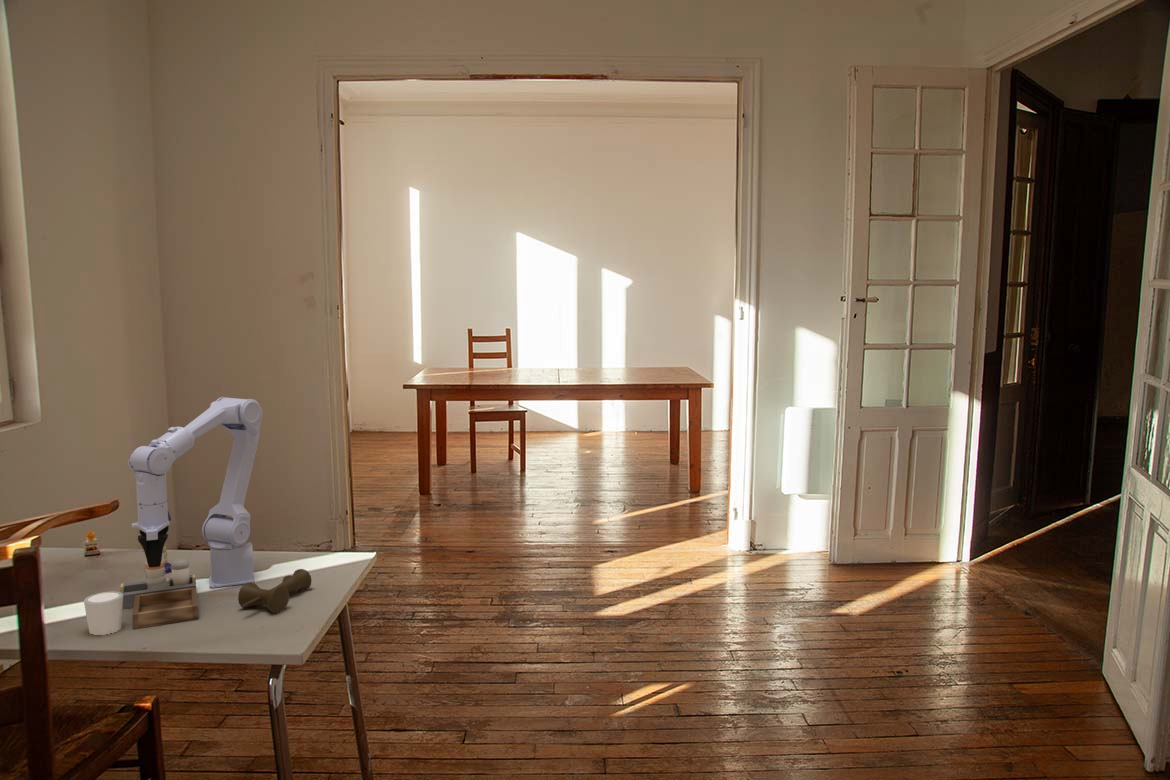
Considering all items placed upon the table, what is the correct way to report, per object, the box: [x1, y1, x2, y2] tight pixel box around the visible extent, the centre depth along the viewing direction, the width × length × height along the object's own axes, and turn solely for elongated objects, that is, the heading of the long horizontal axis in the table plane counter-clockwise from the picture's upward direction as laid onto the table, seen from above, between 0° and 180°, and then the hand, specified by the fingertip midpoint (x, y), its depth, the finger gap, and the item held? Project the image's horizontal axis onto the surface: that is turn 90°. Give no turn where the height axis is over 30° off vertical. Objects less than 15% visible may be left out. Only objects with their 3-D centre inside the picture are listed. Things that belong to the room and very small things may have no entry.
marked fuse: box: [144, 548, 166, 586], centre depth 173 cm, size 4×4×8 cm
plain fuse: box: [170, 557, 191, 586], centre depth 182 cm, size 4×4×8 cm
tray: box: [132, 586, 199, 630], centre depth 172 cm, size 12×12×3 cm
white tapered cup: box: [83, 590, 123, 636], centre depth 163 cm, size 7×7×7 cm
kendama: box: [237, 568, 312, 614], centre depth 179 cm, size 6×10×20 cm
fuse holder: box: [119, 573, 197, 610], centre depth 181 cm, size 15×8×4 cm, turn 117°
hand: (155, 563), depth 173 cm, fingers closed on marked fuse, 4 cm apart
